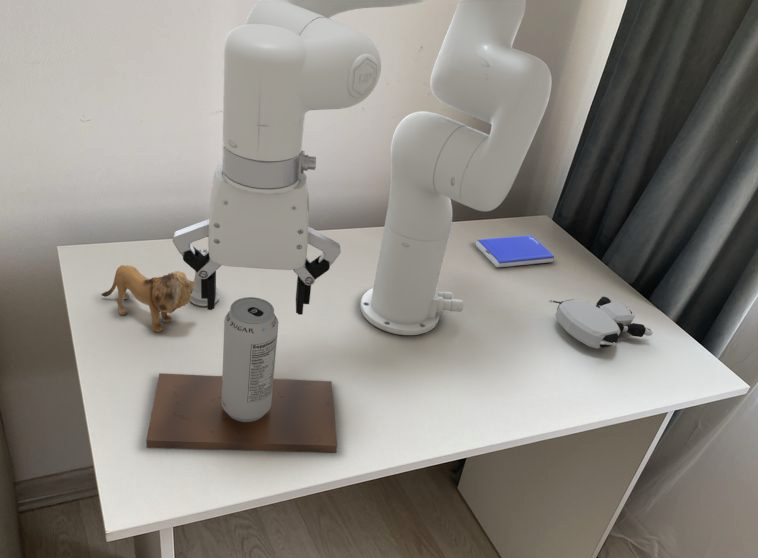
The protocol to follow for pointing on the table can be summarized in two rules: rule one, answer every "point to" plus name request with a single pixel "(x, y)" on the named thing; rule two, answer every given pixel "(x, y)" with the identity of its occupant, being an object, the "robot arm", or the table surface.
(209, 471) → the table surface
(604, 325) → the robot toy
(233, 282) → the table surface
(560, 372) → the table surface
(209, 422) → the serving board
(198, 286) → the rook chess piece
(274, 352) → the energy drink can
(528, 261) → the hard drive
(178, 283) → the lion figurine
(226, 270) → the table surface
